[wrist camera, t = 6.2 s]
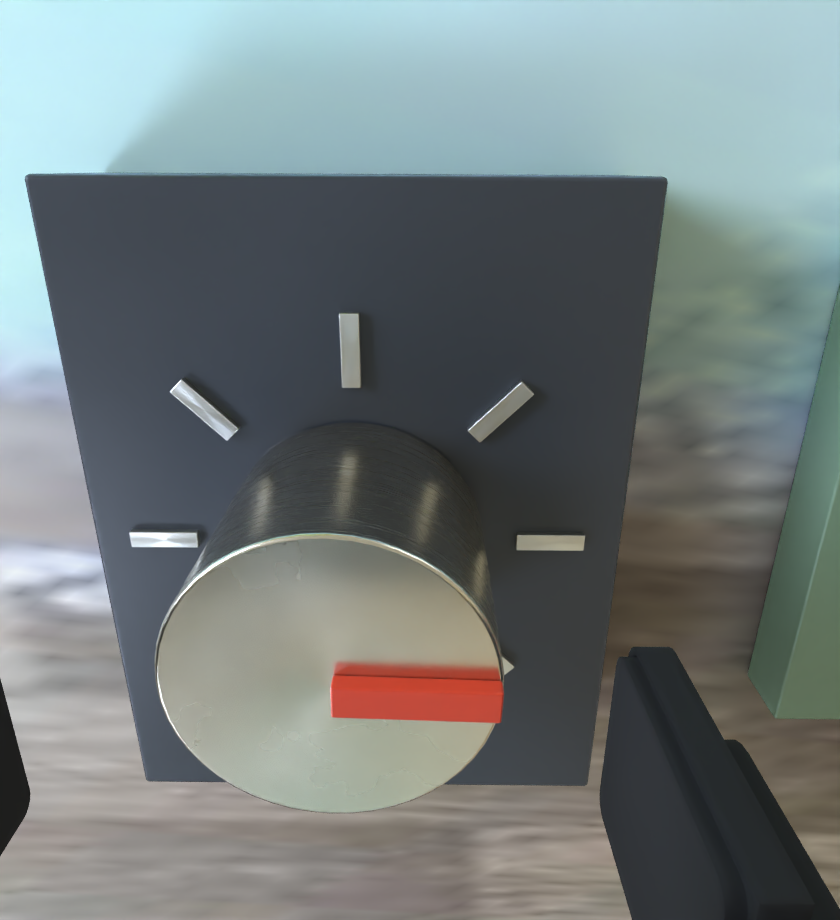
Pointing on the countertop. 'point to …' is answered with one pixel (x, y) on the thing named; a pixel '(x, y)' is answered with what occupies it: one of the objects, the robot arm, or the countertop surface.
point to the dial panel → (363, 389)
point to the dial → (338, 627)
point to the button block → (807, 568)
